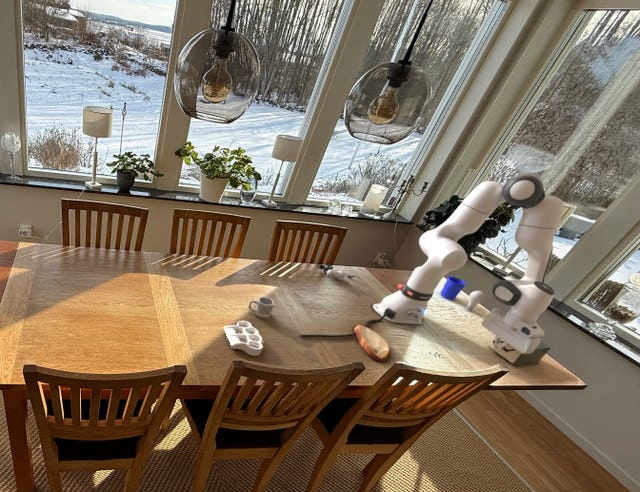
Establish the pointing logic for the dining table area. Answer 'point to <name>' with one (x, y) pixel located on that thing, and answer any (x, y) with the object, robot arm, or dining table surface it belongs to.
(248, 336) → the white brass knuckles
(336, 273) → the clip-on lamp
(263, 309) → the mug
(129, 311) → the dining table surface
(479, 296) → the lightbulb
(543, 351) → the cabinet
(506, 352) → the drawer
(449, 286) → the mug
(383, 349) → the bread slice
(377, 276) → the dining table surface
